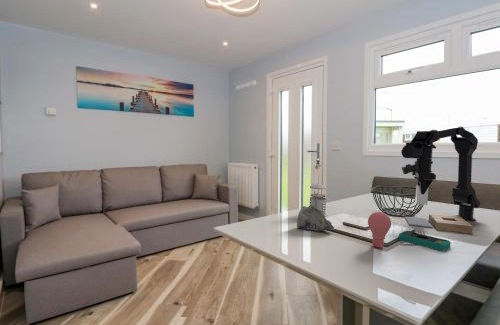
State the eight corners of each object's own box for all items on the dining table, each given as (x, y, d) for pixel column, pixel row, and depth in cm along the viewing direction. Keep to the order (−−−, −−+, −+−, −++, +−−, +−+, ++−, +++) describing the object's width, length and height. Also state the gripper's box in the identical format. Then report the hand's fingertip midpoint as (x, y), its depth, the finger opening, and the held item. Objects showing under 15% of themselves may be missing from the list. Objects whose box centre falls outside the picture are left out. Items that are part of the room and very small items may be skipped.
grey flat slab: (405, 217, 132) (405, 216, 132) (426, 219, 128) (426, 218, 128) (409, 225, 119) (409, 224, 119) (432, 228, 116) (432, 226, 116)
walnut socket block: (428, 219, 129) (429, 213, 129) (459, 223, 124) (460, 216, 124) (436, 229, 114) (436, 222, 114) (472, 233, 109) (472, 226, 109)
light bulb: (384, 243, 96) (386, 210, 95) (393, 251, 89) (395, 215, 88) (363, 242, 97) (365, 209, 96) (370, 250, 90) (372, 214, 89)
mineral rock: (335, 233, 107) (336, 208, 106) (313, 237, 102) (314, 210, 101) (314, 224, 118) (314, 201, 117) (293, 227, 114) (294, 203, 113)
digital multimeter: (405, 236, 106) (405, 229, 106) (451, 248, 94) (451, 240, 94) (396, 240, 101) (396, 232, 101) (443, 253, 90) (444, 244, 89)
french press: (329, 213, 137) (331, 163, 135) (325, 219, 126) (327, 165, 124) (309, 211, 141) (311, 162, 139) (303, 216, 130) (305, 164, 129)
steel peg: (415, 202, 125) (416, 184, 125) (425, 203, 124) (426, 185, 123) (416, 204, 121) (417, 186, 121) (427, 205, 120) (428, 186, 119)
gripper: (400, 157, 133) (398, 189, 134) (406, 158, 116) (403, 195, 117) (427, 158, 129) (425, 191, 130) (437, 159, 111) (434, 197, 112)
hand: (421, 193), depth 122 cm, fingers closed on steel peg, 4 cm apart
